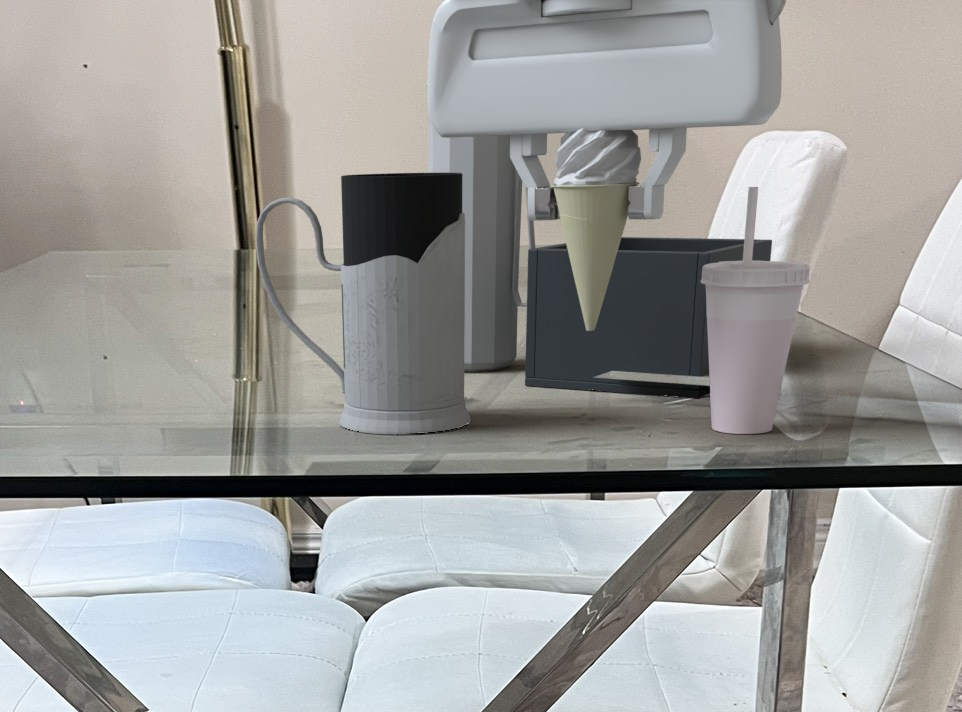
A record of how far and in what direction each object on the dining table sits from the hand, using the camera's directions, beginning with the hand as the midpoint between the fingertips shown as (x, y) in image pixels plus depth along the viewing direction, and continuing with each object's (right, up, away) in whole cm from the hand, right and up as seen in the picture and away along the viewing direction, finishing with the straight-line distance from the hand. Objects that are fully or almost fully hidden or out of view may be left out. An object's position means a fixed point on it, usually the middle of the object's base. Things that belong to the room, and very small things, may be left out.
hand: (593, 219), depth 81 cm
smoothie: (+10, -11, +7) cm, 16 cm away
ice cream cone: (0, -6, +3) cm, 6 cm away
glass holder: (-13, -9, +12) cm, 20 cm away
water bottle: (-4, +1, +32) cm, 33 cm away
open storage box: (+8, -2, +26) cm, 27 cm away
